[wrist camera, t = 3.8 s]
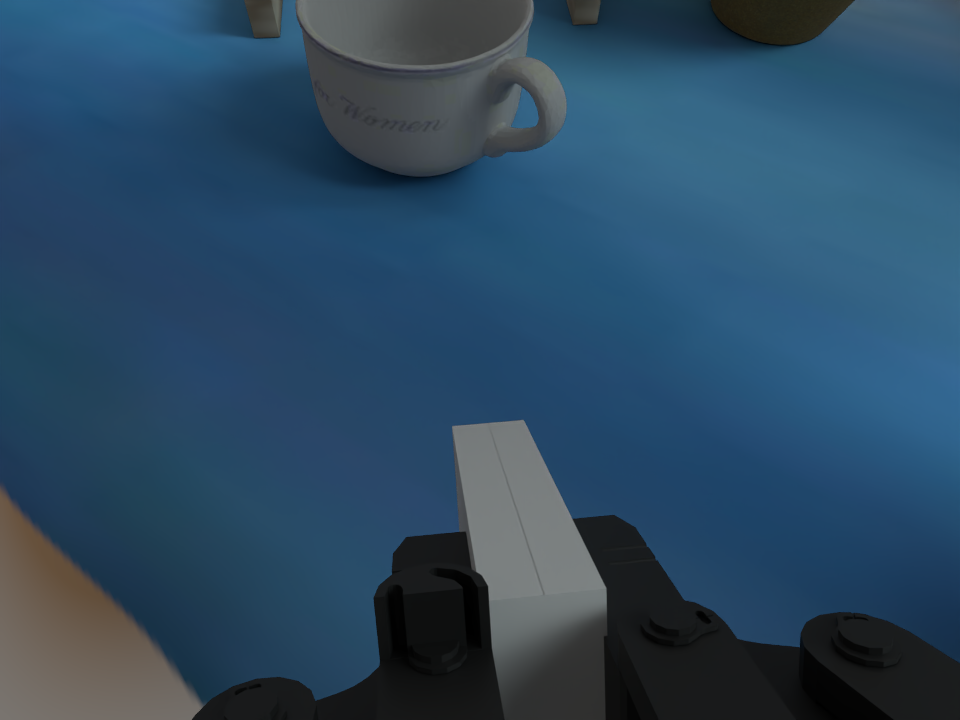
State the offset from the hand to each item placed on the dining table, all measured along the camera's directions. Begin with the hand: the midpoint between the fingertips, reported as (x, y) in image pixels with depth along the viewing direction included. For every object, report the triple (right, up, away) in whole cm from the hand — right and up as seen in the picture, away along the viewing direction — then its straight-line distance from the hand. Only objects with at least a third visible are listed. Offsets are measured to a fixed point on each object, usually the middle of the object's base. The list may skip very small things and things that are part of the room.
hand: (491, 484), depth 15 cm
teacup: (-2, +14, +23) cm, 27 cm away
